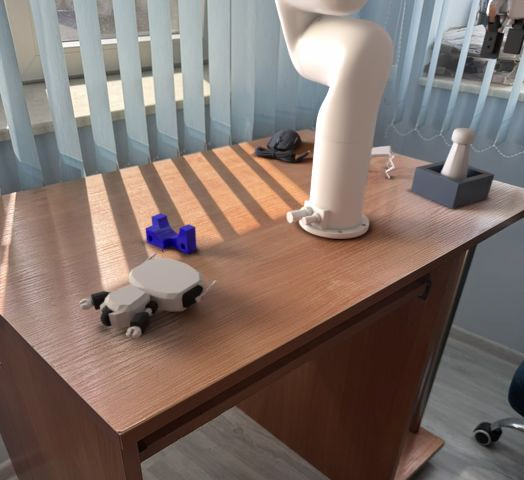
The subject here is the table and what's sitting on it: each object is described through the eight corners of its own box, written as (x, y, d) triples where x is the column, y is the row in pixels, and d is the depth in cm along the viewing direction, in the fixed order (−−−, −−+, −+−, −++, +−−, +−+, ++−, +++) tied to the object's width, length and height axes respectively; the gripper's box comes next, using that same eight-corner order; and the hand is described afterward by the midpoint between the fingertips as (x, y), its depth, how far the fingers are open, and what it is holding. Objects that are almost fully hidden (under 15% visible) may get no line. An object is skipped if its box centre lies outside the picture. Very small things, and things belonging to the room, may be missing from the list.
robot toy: (138, 359, 63) (222, 302, 72) (131, 330, 60) (220, 274, 69) (77, 321, 69) (162, 272, 78) (69, 292, 66) (157, 246, 75)
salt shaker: (460, 190, 110) (477, 126, 102) (465, 200, 106) (484, 134, 98) (432, 188, 111) (447, 124, 103) (436, 198, 106) (453, 132, 98)
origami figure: (389, 183, 112) (393, 160, 109) (352, 176, 115) (355, 153, 112) (404, 168, 121) (408, 146, 118) (369, 161, 124) (373, 140, 121)
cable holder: (147, 242, 86) (144, 219, 84) (162, 235, 88) (160, 213, 86) (180, 257, 82) (179, 233, 80) (196, 249, 85) (195, 226, 82)
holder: (452, 209, 102) (458, 183, 99) (410, 191, 109) (415, 167, 106) (487, 198, 107) (494, 174, 104) (445, 182, 114) (451, 159, 111)
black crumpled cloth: (327, 147, 132) (328, 130, 130) (296, 165, 120) (297, 147, 117) (284, 139, 137) (285, 123, 134) (250, 156, 124) (250, 138, 122)
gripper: (530, -61, 92) (500, 49, 102) (487, -67, 82) (459, 57, 92) (574, -61, 88) (538, 54, 98) (535, -66, 78) (499, 63, 88)
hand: (500, 55), depth 95 cm, fingers open, 9 cm apart
